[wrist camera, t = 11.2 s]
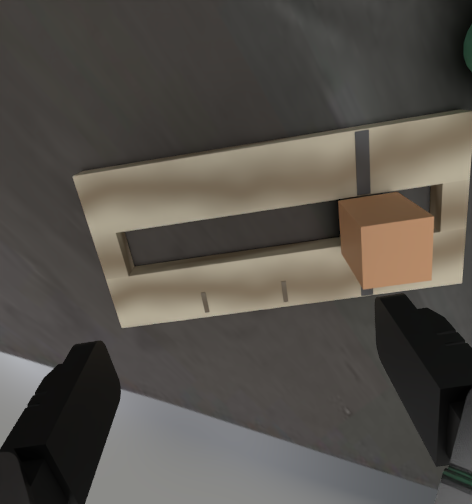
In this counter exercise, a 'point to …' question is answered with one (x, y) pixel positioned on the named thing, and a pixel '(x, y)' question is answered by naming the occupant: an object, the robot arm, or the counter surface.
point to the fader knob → (386, 240)
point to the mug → (468, 48)
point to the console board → (266, 198)
